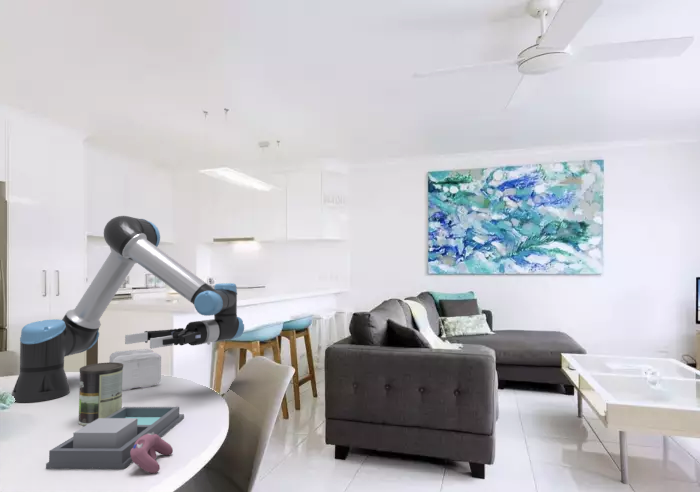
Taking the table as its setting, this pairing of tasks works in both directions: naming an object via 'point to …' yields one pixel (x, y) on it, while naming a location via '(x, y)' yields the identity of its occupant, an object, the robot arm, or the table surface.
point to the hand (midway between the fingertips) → (137, 341)
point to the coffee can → (99, 391)
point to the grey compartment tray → (112, 438)
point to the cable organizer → (138, 367)
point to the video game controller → (149, 452)
